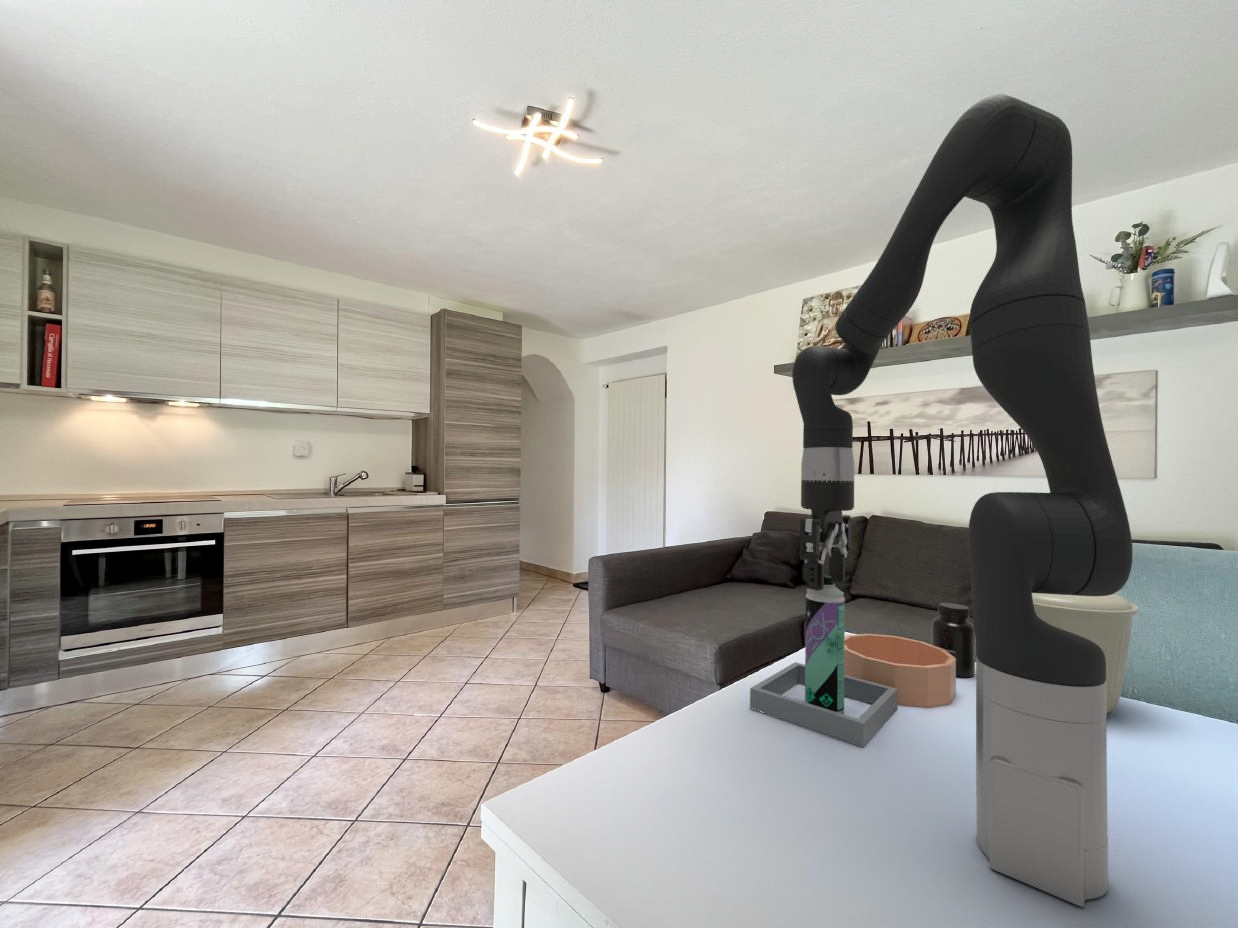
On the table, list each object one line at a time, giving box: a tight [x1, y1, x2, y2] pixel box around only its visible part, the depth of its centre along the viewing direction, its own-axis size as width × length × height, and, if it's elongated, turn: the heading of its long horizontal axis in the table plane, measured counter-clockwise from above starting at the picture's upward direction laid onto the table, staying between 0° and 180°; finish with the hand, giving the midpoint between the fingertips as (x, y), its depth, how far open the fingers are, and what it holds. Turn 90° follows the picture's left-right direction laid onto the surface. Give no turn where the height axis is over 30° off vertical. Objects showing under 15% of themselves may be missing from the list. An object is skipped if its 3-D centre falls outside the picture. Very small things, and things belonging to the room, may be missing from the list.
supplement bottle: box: [930, 602, 976, 679], centre depth 95 cm, size 7×7×12 cm
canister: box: [1032, 593, 1140, 714], centre depth 82 cm, size 18×18×21 cm
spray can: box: [804, 573, 846, 714], centre depth 78 cm, size 6×6×20 cm
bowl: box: [844, 633, 957, 709], centre depth 87 cm, size 17×17×6 cm
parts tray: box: [749, 661, 898, 748], centre depth 77 cm, size 16×16×3 cm
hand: (826, 585), depth 78 cm, fingers open, 8 cm apart
